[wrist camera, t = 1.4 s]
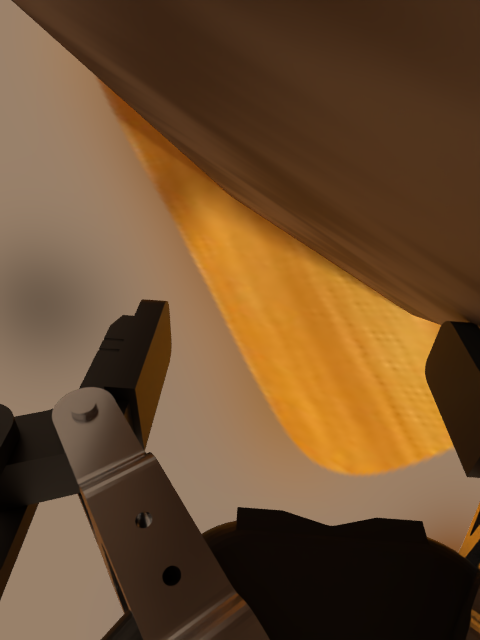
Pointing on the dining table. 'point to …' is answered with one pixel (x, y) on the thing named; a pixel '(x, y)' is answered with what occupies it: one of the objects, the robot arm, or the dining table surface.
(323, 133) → the walnut stand
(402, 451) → the dining table surface
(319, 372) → the dining table surface
